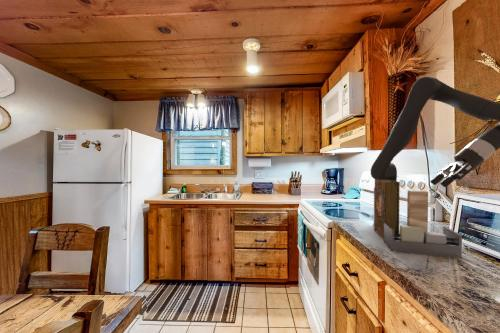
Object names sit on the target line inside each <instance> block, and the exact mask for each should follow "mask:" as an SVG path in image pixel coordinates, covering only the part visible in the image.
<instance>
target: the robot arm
mask: <svg viewBox="0 0 500 333" xmlns="http://www.w3.org/2000/svg"><path fill="white" fill-rule="evenodd" d="M429 100H431V101H436V102H440V103H443V104H446V105H449V106H451V107H452V108H454V109H456V110H458V111H460V112H462V113H464V114H466V115H468V116H470V117H474V118H476V119H478V120H482V121H491V120H494V121H498V123H497V124H496V125H495V126H493V127H492V128H489V129H487V130H486V131H484V132H483V133H481V134H480V135H479V136H477V137H476V138H475V139H474V140H473V141H471V142H469V143H468V144H467V145H466V146H465V147H464V148H462V149H461V150H460V151H458V152H457V153H456V154H455V155H454V156H453V159H454V160H455V162H452V163H451V162H448V163H447V164H446V165H444V166H443V167H442V168H441V169H439V170H438V171H436V174H437V175H436V176H434V177H432V179H430V183H431V184H432V185H433V186H436V185H437V184H440V185H441V186H442V187H443V188H447V187H448V186H449V185H451V184H452V183H454V182H455V181H460V180H462V179H464V177H466V176H467V175H468V174H469V173H470V172H472V171H473V170H475V169H476V168H478V167H479V166H481V164H483V163H484V162H486V161H487V160H488V159H489V158H491V156H493V155H494V153H495V152H497V151H498V150H499V149H500V102H499V103H498V102H495V101H493V100H490V99H487V98H485V97H481V96H478V95H474V94H471V93H468V92H465V91H461V90H459V89H456V88H453V87H452V86H449V85H448V84H446V83H444V82H443V81H441V80H439V79H438V78H436V77H431V76H423V77H420V78H418V79H416V81H414V83H413V84H412V85H411V88H410V91H409V93H408V96H407V99H406V102H405V104H404V106H403V108H402V110H401V112H400V114H399V116H398V117H397V120H396V122H395V123H394V125H393V127H392V129H391V132H390V133H389V136H388V137H387V140H386V141H385V143H384V145H383V147H382V149H381V151H380V153H379V154H378V156H377V157H376V159H375V161H373V164H372V165H371V167H370V176H371V177H372V178H373V179H374V180H375V179H388V180H393V181H397V178H398V169H397V165H395V164H394V163H393V162H392V161H393V160H394V158H396V156H398V154H400V152H402V151H403V150H404V149H405V148H406V147H407V146H408V145H409V144H410V142H412V139H413V138H414V136H415V133H416V131H417V130H418V126H419V121H420V116H421V113H422V111H423V108H424V107H425V106H426V104H427V102H428V101H429ZM397 182H398V181H397ZM374 203H375V186H374V188H373V204H374Z"/></svg>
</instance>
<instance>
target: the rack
mask: <svg viewBox="0 0 500 333" xmlns="http://www.w3.org/2000/svg"><path fill="white" fill-rule="evenodd" d="M442 230H443V231H442V234H444V235H446V244H435V243H422V242H410V241H400V232H399V233H394V230H393V229H392V228H391V227H390V226H389V225H388V224H387V223H384V239H383V242H384V244H385V245H386V247H387V248H388V249H389V250H390V252H392V251H396V252H395V253H401V252H403V253H402V254H412V253H413V254H414V255H425V256H433V257H434V256H435V257H444V258H457V259H462V257H463V256H462V254H463V248H462V247H463V235H462V234H460V233H458V232H456V231H455V230H453V229H451V228H449V227H447V226H443V228H442Z"/></svg>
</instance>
